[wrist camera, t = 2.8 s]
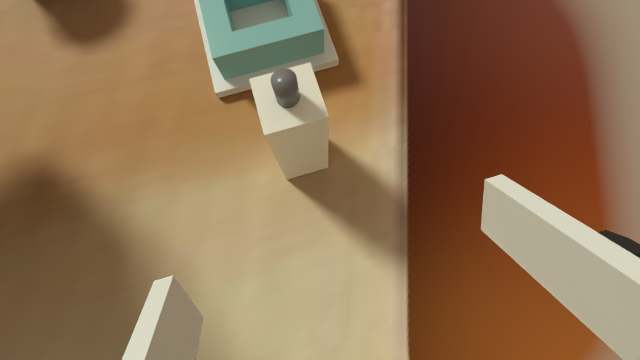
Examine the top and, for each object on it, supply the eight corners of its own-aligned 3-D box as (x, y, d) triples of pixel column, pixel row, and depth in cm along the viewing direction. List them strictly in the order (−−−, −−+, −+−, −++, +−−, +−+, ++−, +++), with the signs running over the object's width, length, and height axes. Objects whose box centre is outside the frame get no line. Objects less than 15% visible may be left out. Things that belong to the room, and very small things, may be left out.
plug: (328, 167, 29) (329, 100, 17) (286, 179, 29) (256, 120, 17) (316, 130, 31) (308, 41, 18) (276, 141, 30) (240, 59, 18)
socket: (338, 65, 33) (340, 35, 28) (218, 98, 32) (201, 72, 27) (305, -26, 36) (302, -64, 32) (196, 2, 35) (178, -34, 31)
